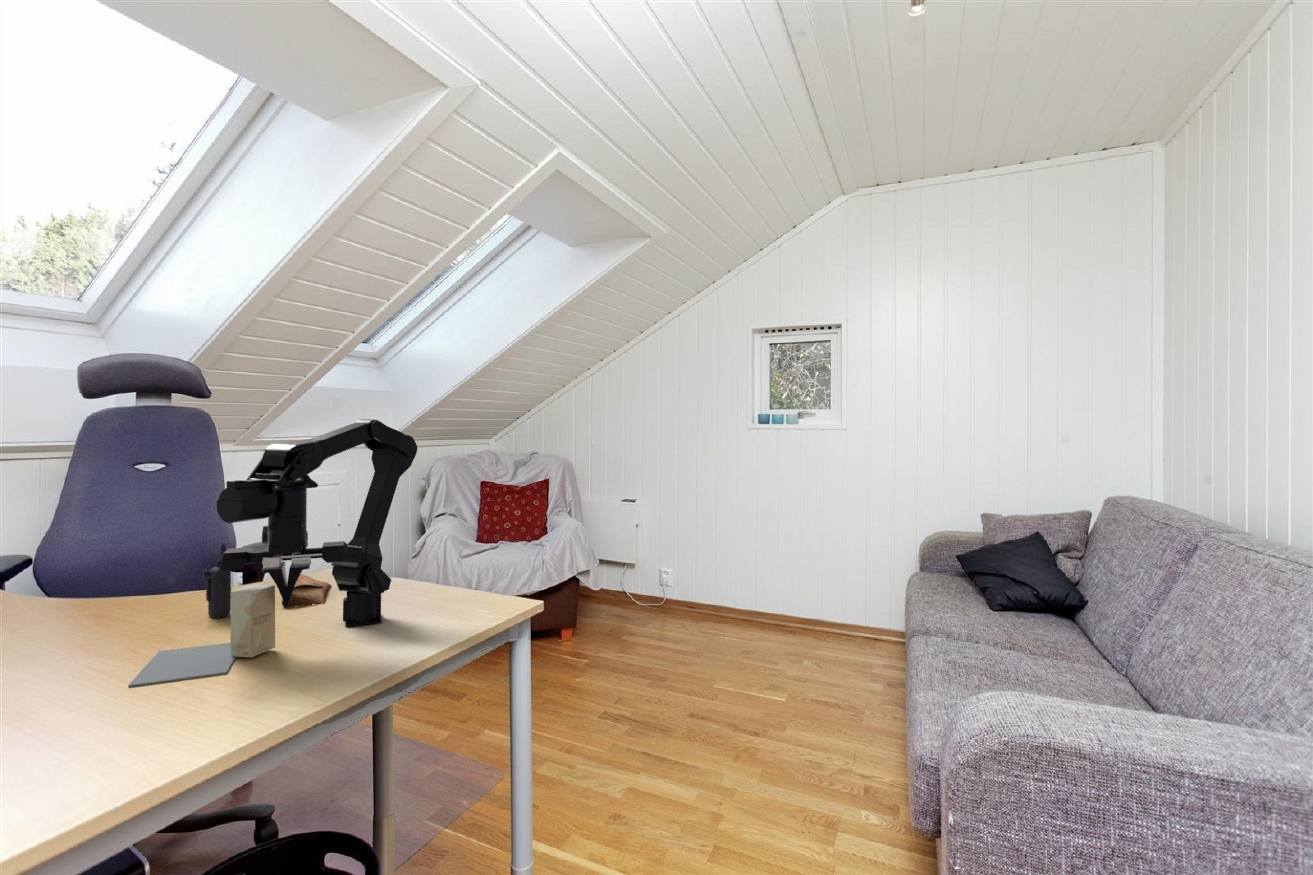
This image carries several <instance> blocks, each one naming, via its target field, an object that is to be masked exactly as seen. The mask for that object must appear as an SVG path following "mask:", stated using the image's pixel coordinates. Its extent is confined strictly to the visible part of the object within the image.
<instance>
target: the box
mask: <svg viewBox="0 0 1313 875" xmlns="http://www.w3.org/2000/svg"><path fill="white" fill-rule="evenodd" d="M275 585H276V584H275ZM275 585H274V584H261V583H254V584H251V585H248V586H243V587H239V588H237V589H234V590H231V606H230V608H231V609H230V643H231V656H236V657H240V658H241V657H242V658H254V657H255V656H258V655H261V654H263V653H265V652H266V653H267V652H268V651H270V650H273V649H275V648H276V586H275Z"/></svg>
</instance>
